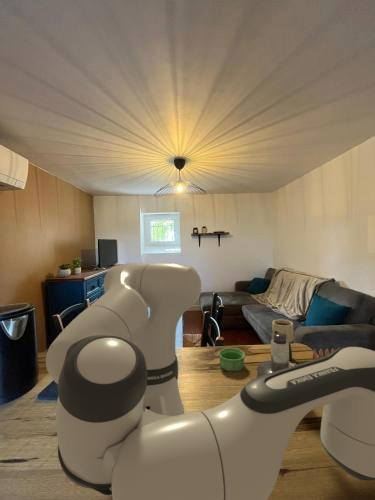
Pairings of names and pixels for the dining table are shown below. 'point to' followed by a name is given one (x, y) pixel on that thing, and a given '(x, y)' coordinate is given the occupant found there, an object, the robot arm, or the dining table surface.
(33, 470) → the dining table surface
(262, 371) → the grey lid
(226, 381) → the dining table surface
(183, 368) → the dining table surface
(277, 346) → the clear bottle
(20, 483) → the dining table surface
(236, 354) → the ramekin
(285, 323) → the character mug
